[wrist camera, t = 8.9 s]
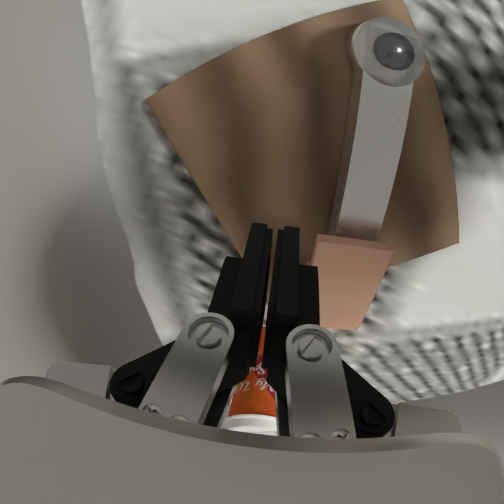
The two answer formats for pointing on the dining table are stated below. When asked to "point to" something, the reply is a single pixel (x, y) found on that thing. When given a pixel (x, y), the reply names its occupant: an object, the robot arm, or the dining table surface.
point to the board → (304, 138)
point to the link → (374, 123)
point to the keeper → (348, 278)
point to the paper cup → (254, 401)
